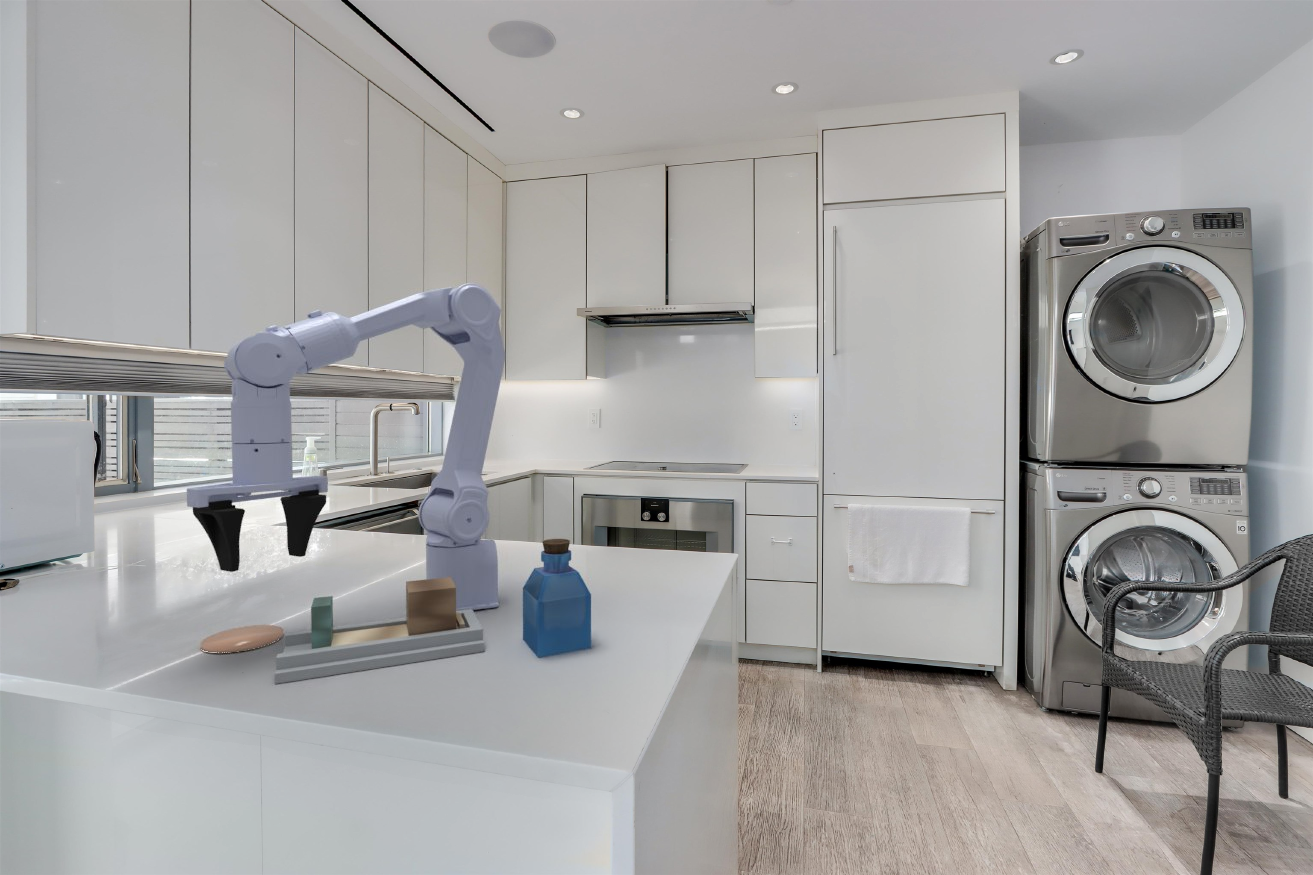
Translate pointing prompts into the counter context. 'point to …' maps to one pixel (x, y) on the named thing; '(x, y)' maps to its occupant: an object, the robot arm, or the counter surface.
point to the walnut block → (430, 606)
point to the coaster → (242, 638)
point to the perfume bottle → (556, 604)
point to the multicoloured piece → (327, 638)
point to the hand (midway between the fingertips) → (265, 562)
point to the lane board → (373, 649)
